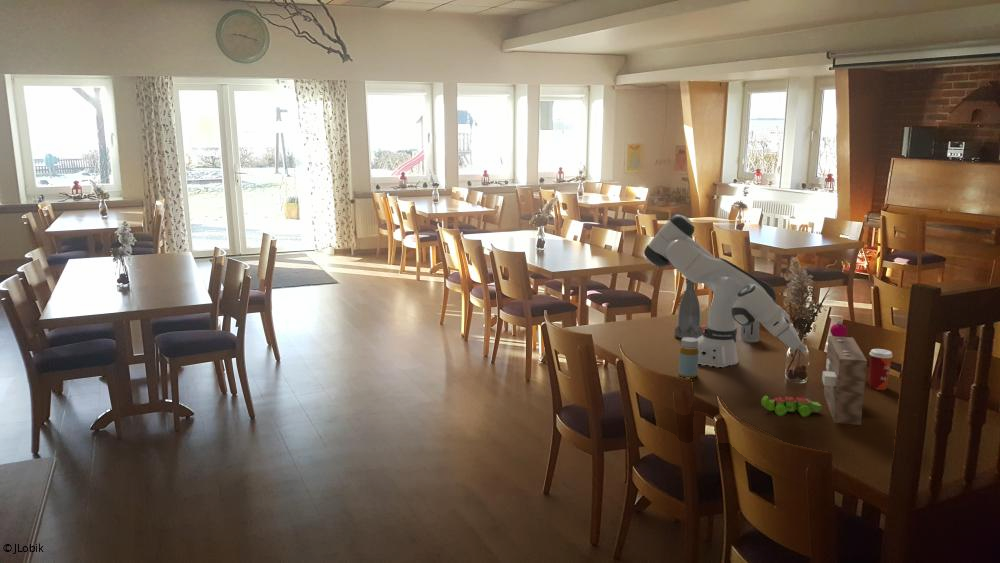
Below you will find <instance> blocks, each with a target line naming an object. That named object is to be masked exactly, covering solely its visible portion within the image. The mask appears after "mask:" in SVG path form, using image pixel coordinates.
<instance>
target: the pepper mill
mask: <svg viewBox="0 0 1000 563" xmlns="http://www.w3.org/2000/svg"><path fill="white" fill-rule="evenodd" d="M829 331H830V334H831V336H836V337H846V335H847V334H848V328H847V327H846V326H845V325H844V324H843V323H842V320H837V321H836V324H833V325H832V326H831V327H830V330H829ZM825 360H827V356H825Z"/></svg>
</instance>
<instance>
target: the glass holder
mask: <svg viewBox="0 0 1000 563" xmlns="http://www.w3.org/2000/svg"><path fill="white" fill-rule="evenodd" d="M760 324H761V323H760V321H758V320H757V321H755V323H753V324H752V325H749V326H744V325H740V336H739V338H738V339H739V340H740V341H742V342H744V341H745V343H757V342H758V343H759V342H760V338H759V337H760Z"/></svg>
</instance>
